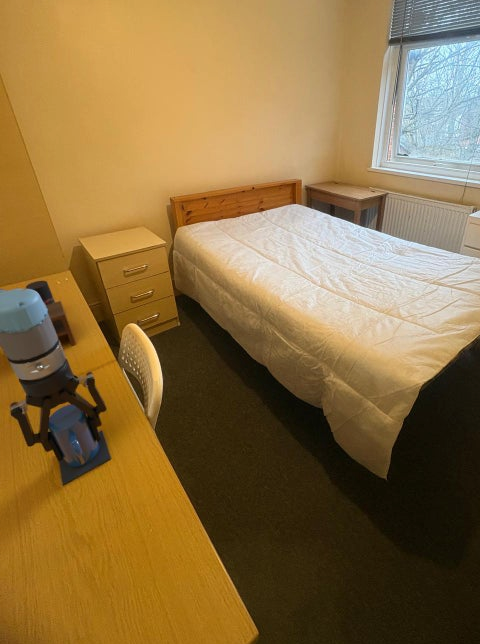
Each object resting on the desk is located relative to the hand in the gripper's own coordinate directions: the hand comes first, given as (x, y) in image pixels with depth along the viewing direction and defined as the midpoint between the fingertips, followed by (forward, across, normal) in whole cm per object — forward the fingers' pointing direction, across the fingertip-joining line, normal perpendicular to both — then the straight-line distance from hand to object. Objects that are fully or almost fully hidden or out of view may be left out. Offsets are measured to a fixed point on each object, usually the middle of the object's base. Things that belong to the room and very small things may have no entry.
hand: (79, 445), depth 70 cm
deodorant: (+4, 0, +66) cm, 66 cm away
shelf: (+4, 0, +50) cm, 50 cm away
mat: (+4, 0, 0) cm, 4 cm away
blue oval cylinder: (+2, 0, -1) cm, 3 cm away
